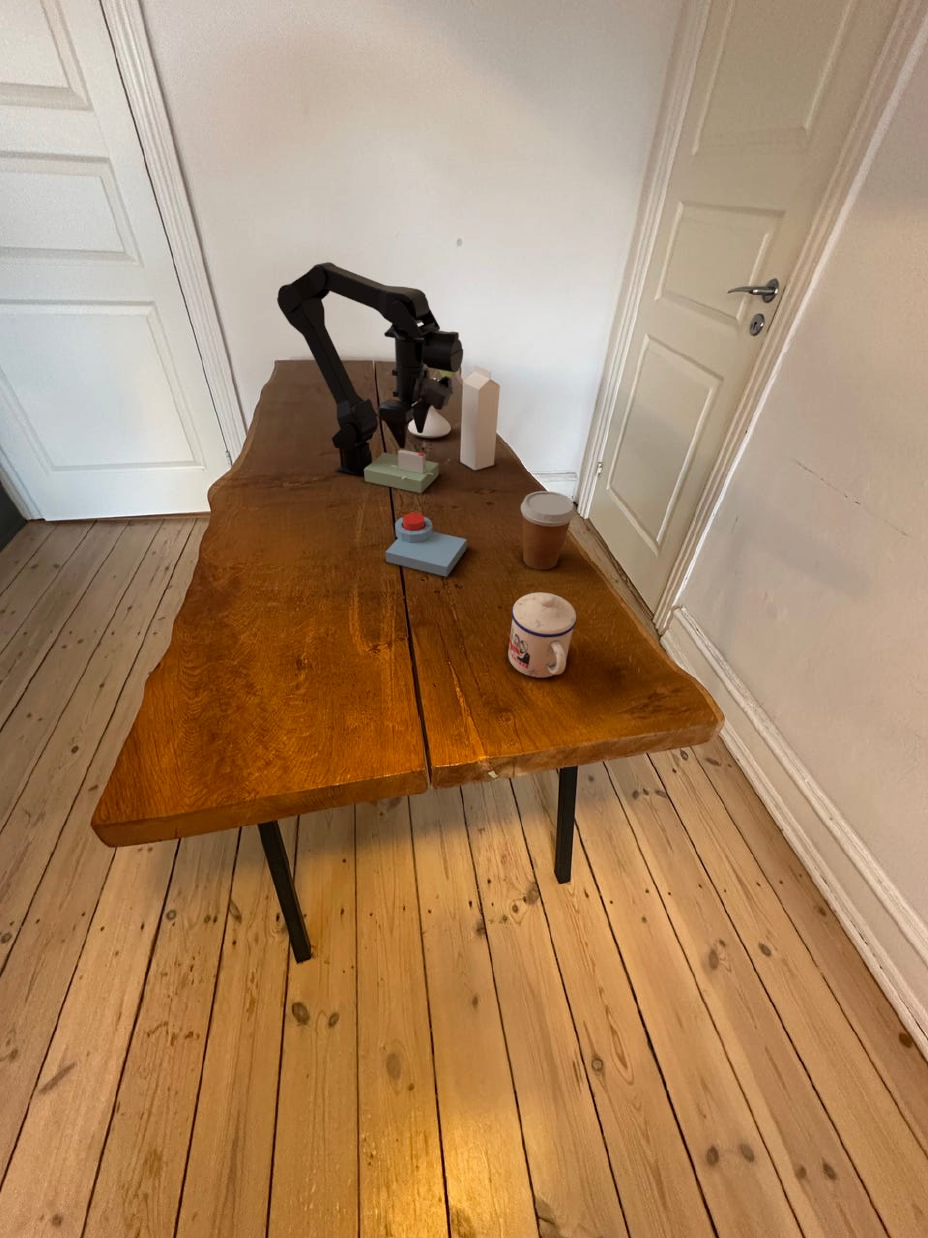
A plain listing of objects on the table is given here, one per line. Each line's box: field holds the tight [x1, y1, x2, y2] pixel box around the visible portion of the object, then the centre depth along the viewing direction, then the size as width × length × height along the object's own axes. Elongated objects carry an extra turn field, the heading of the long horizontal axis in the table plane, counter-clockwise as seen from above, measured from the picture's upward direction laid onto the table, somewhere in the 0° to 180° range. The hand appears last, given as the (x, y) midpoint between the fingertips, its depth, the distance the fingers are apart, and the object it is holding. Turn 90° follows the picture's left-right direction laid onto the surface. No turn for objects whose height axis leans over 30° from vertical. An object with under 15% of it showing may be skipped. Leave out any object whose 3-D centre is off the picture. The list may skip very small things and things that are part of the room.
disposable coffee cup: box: [520, 490, 576, 571], centre depth 99 cm, size 10×10×12 cm
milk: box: [459, 364, 501, 471], centre depth 127 cm, size 6×6×22 cm
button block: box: [385, 516, 468, 577], centre depth 102 cm, size 13×12×4 cm
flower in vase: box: [407, 369, 456, 439], centre depth 139 cm, size 13×11×25 cm
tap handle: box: [397, 449, 426, 474], centre depth 121 cm, size 6×2×4 cm, turn 69°
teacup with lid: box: [507, 592, 578, 678], centre depth 77 cm, size 12×9×12 cm
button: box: [402, 512, 425, 531], centre depth 103 cm, size 4×4×2 cm
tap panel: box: [363, 452, 440, 494], centre depth 125 cm, size 15×11×3 cm
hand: (411, 440), depth 118 cm, fingers open, 9 cm apart
